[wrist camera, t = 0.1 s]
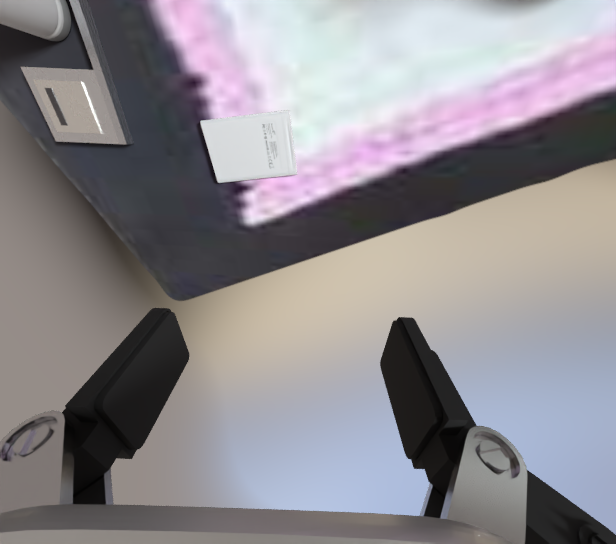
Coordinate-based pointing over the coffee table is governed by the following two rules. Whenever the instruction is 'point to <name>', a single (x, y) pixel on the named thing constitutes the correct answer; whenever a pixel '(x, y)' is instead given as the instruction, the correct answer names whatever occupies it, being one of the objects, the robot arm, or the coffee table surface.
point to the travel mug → (37, 17)
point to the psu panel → (81, 93)
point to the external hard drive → (251, 146)
